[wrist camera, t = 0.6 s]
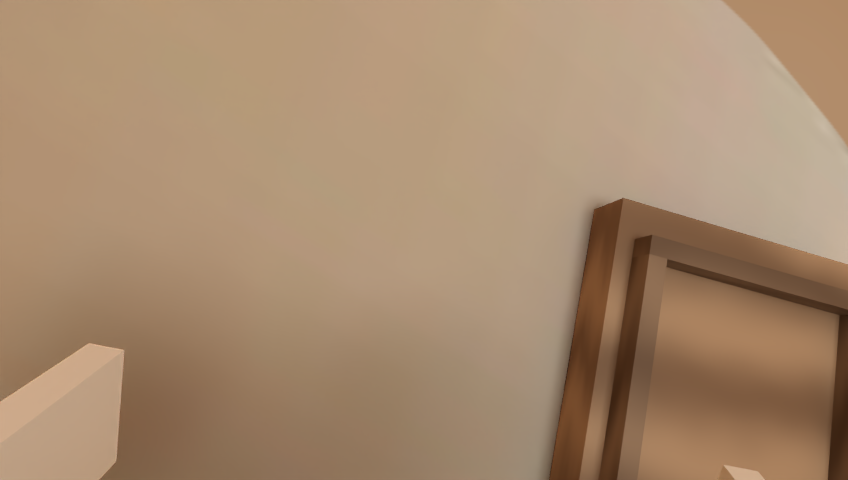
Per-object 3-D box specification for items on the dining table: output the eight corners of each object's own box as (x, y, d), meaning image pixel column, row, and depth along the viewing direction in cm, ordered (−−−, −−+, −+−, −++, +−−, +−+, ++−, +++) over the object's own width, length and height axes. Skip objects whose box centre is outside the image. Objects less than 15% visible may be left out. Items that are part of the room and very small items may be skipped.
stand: (800, 586, 31) (880, 628, 27) (539, 540, 29) (581, 578, 24) (824, 276, 35) (899, 269, 30) (594, 209, 32) (640, 191, 28)
